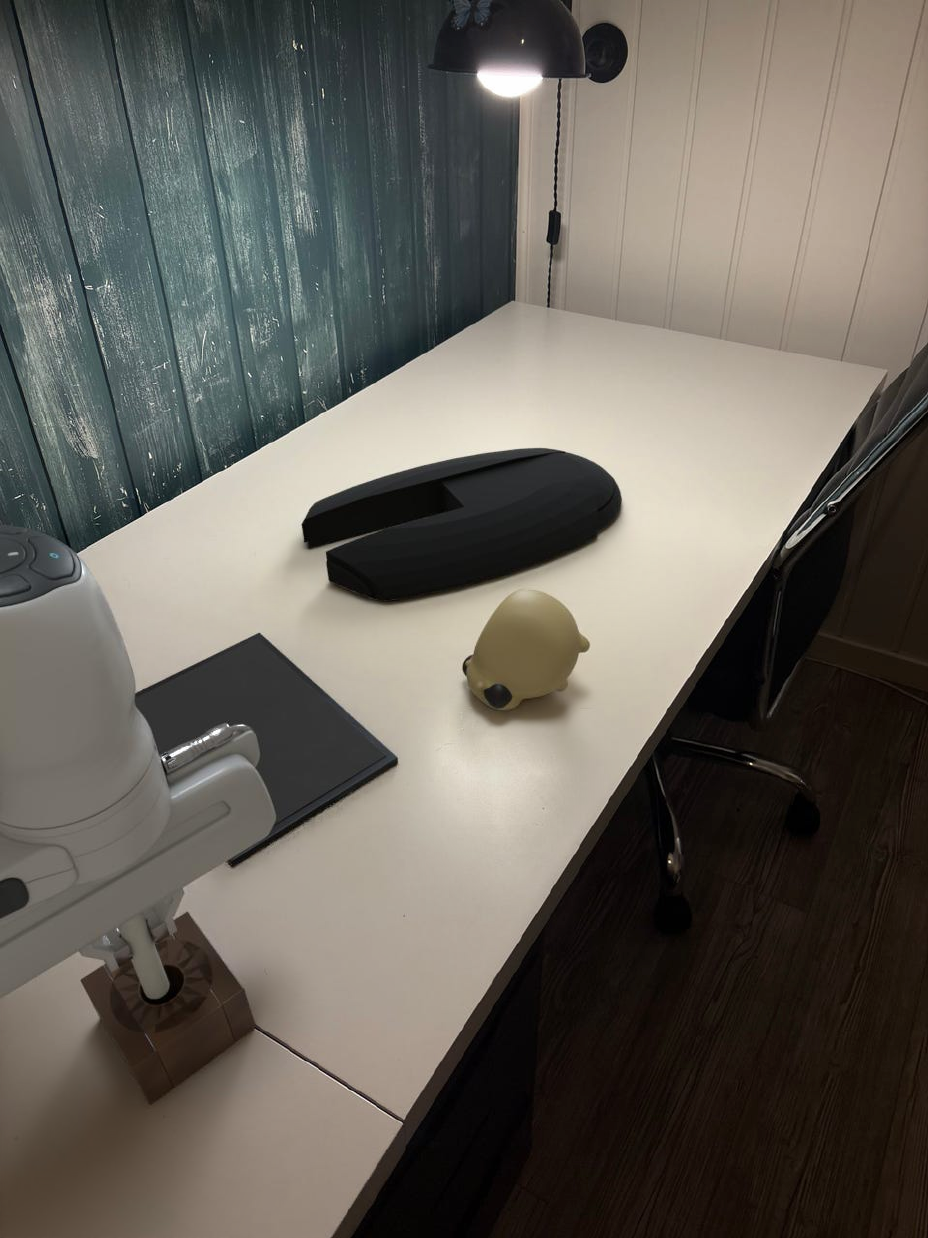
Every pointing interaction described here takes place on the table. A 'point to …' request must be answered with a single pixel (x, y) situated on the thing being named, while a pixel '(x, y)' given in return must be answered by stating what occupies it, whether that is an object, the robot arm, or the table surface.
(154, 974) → the stylus
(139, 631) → the table surface
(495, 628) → the toy pig
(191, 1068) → the pen block
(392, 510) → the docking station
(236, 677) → the tablet
